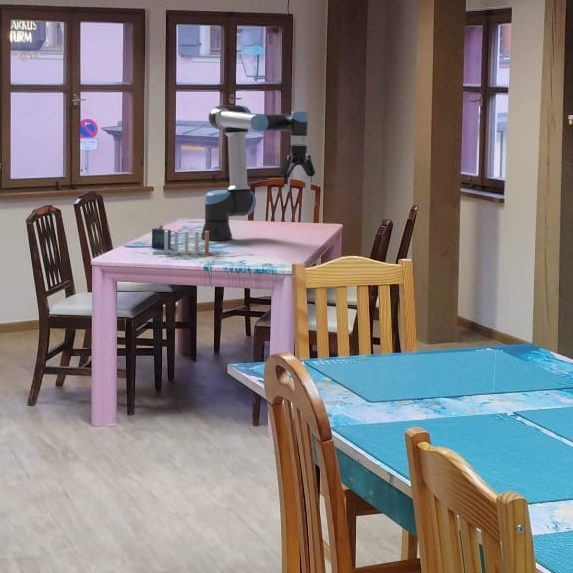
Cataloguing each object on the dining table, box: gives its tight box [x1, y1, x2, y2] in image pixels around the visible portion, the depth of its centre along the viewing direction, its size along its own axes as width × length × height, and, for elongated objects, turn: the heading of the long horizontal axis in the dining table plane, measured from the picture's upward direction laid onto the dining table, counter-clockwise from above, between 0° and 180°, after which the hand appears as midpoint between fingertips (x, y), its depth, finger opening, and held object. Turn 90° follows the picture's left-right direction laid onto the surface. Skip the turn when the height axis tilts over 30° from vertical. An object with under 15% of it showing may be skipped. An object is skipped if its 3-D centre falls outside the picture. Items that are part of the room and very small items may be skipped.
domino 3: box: [184, 230, 190, 254], centre depth 531 cm, size 2×5×10 cm, turn 6°
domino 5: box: [204, 231, 210, 256], centre depth 532 cm, size 2×5×10 cm, turn 6°
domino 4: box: [194, 230, 200, 254], centre depth 531 cm, size 2×5×10 cm, turn 6°
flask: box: [151, 225, 172, 250], centre depth 546 cm, size 9×3×11 cm, turn 74°
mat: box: [152, 251, 221, 256], centre depth 532 cm, size 30×10×1 cm, turn 96°
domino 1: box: [163, 230, 169, 254], centre depth 530 cm, size 2×5×10 cm, turn 6°
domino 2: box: [173, 229, 179, 254], centre depth 530 cm, size 2×5×10 cm, turn 6°
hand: (297, 190), depth 553 cm, fingers open, 13 cm apart
